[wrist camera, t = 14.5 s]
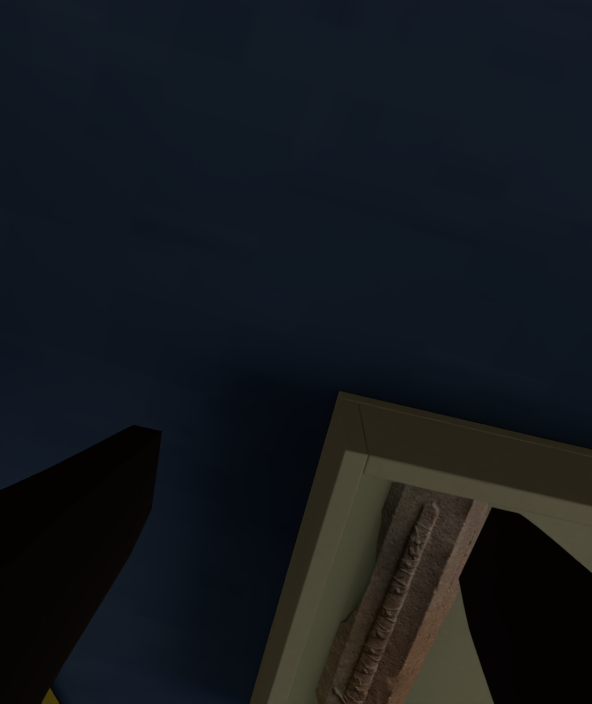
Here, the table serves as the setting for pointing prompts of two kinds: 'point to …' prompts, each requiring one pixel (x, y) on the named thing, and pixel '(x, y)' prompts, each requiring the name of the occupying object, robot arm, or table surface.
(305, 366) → the table surface
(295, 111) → the table surface
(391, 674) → the sword-carved stone slab
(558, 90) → the table surface
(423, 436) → the cream square tray
